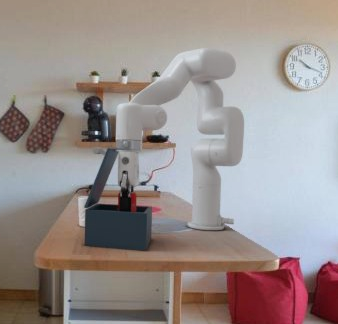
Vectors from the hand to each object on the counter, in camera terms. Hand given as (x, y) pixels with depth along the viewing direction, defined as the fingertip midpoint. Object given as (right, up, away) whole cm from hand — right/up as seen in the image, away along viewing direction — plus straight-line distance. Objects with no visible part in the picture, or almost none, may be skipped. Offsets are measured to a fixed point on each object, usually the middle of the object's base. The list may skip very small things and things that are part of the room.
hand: (127, 209), depth 112 cm
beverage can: (0, -7, 0) cm, 7 cm away
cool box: (-2, -10, +1) cm, 10 cm away
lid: (-7, +9, +1) cm, 11 cm away
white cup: (-11, -9, +26) cm, 29 cm away
